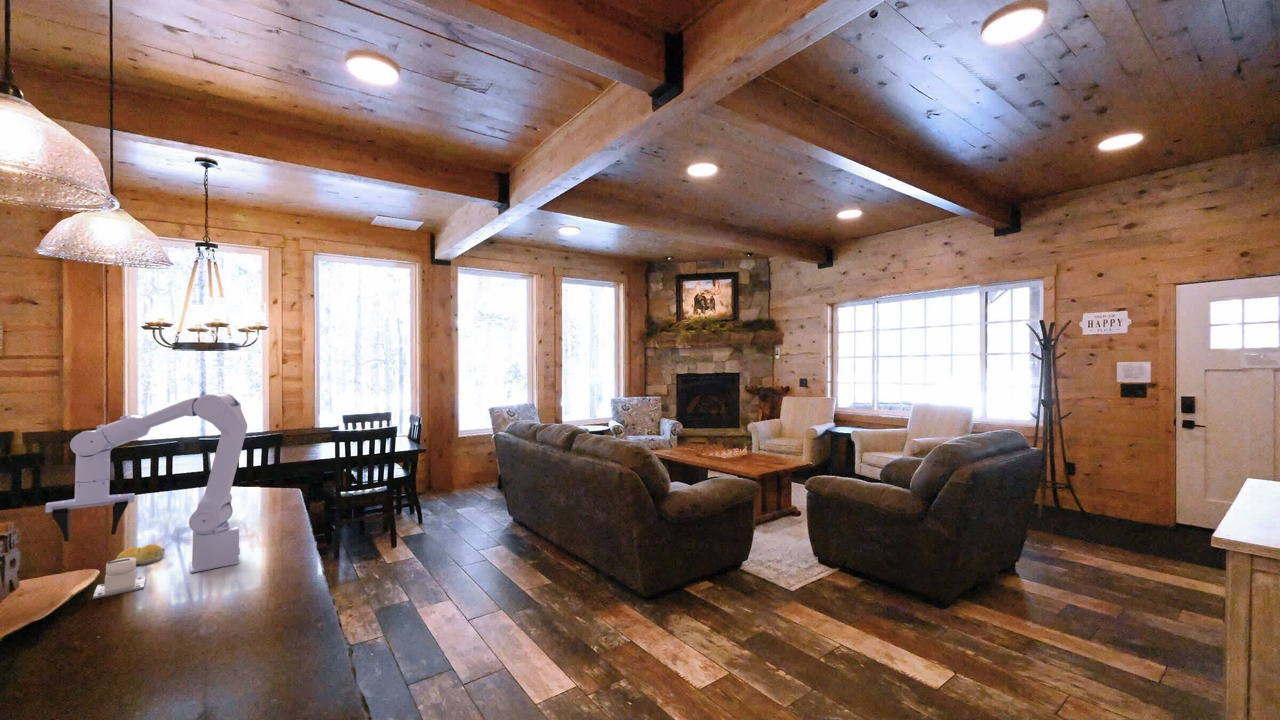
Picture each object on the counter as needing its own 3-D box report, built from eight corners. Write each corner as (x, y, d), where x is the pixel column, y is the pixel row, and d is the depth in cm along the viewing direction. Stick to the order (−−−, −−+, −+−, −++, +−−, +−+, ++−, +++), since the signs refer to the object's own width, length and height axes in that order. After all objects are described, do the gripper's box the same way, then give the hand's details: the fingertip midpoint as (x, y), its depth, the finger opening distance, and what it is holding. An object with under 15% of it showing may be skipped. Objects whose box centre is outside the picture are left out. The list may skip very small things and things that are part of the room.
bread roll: (121, 560, 135) (122, 544, 135) (166, 554, 140) (167, 539, 140) (109, 570, 128) (110, 554, 128) (157, 563, 133) (158, 548, 133)
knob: (135, 579, 121) (136, 554, 121) (134, 586, 117) (135, 560, 117) (106, 585, 118) (107, 559, 118) (104, 592, 114) (105, 565, 114)
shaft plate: (145, 578, 123) (146, 564, 123) (143, 588, 117) (144, 574, 117) (97, 587, 118) (97, 573, 118) (92, 599, 112) (93, 583, 112)
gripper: (136, 473, 131) (134, 527, 131) (50, 481, 121) (48, 539, 121) (134, 478, 126) (132, 533, 125) (44, 486, 116) (42, 546, 116)
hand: (90, 536), depth 123 cm, fingers open, 7 cm apart
